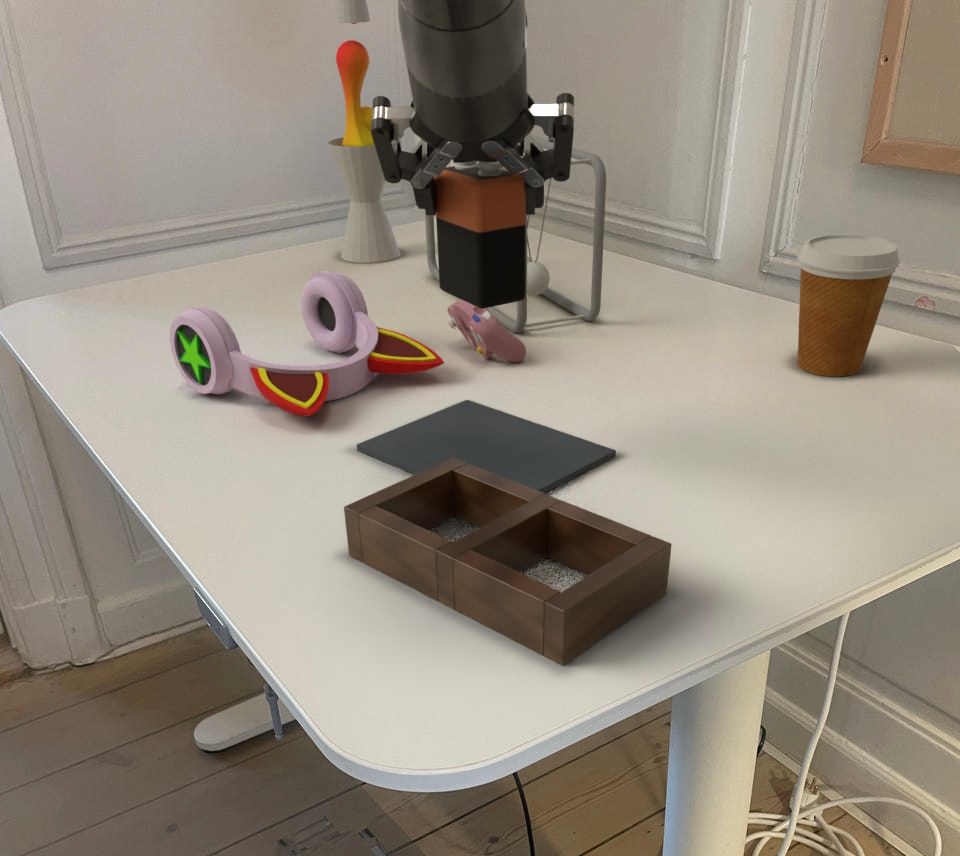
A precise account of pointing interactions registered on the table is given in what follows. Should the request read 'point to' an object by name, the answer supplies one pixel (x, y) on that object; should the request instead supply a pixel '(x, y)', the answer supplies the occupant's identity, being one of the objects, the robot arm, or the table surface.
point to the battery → (481, 233)
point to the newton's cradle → (538, 272)
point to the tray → (509, 556)
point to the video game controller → (485, 332)
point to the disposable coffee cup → (841, 299)
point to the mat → (488, 446)
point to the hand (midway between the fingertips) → (481, 204)
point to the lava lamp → (360, 153)
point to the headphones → (298, 389)
